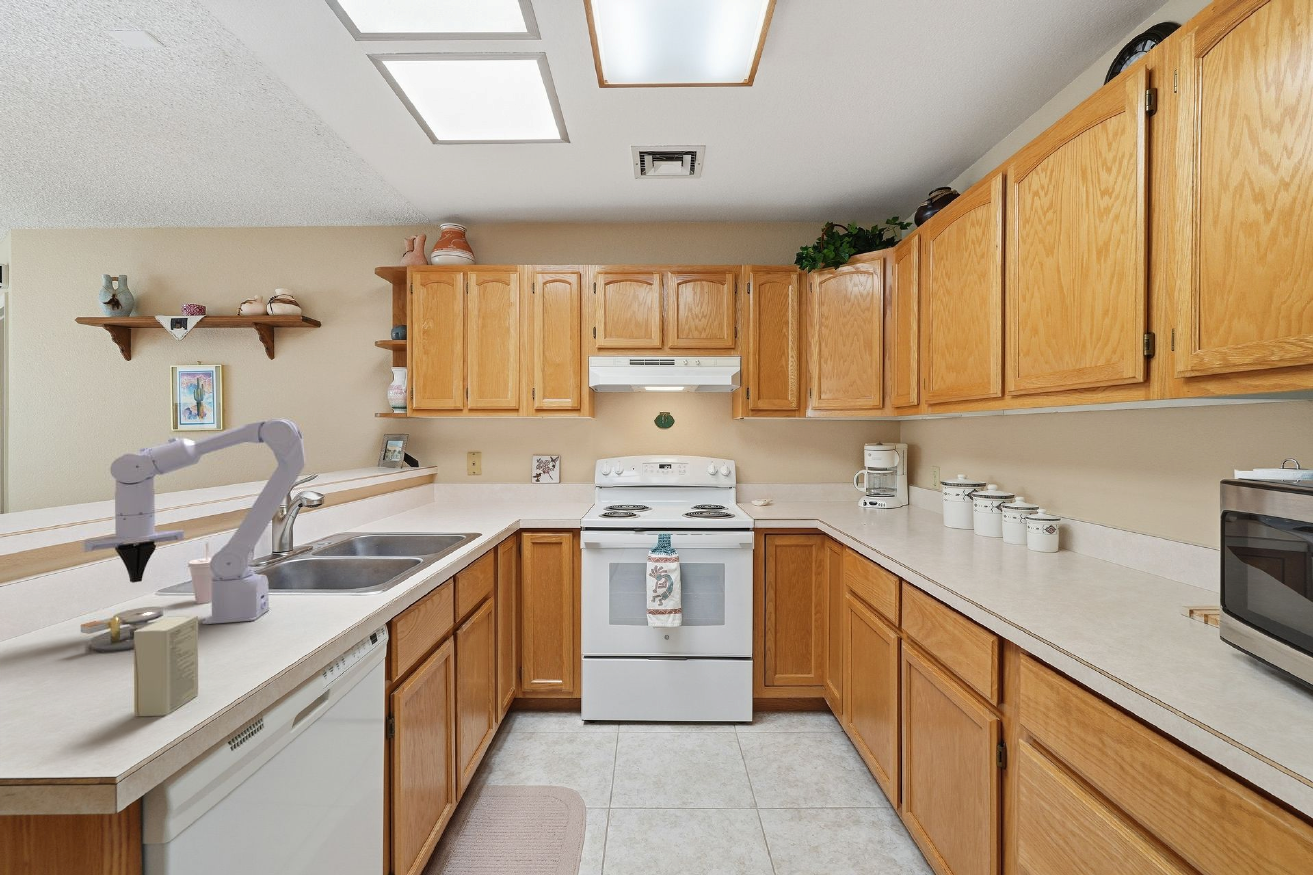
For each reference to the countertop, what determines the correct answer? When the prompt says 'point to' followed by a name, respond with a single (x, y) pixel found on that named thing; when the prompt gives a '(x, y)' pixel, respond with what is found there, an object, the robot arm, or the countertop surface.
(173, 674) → the skincare box
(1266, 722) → the countertop surface
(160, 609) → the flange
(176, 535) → the robot arm
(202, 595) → the smoothie
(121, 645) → the base
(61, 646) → the countertop surface
